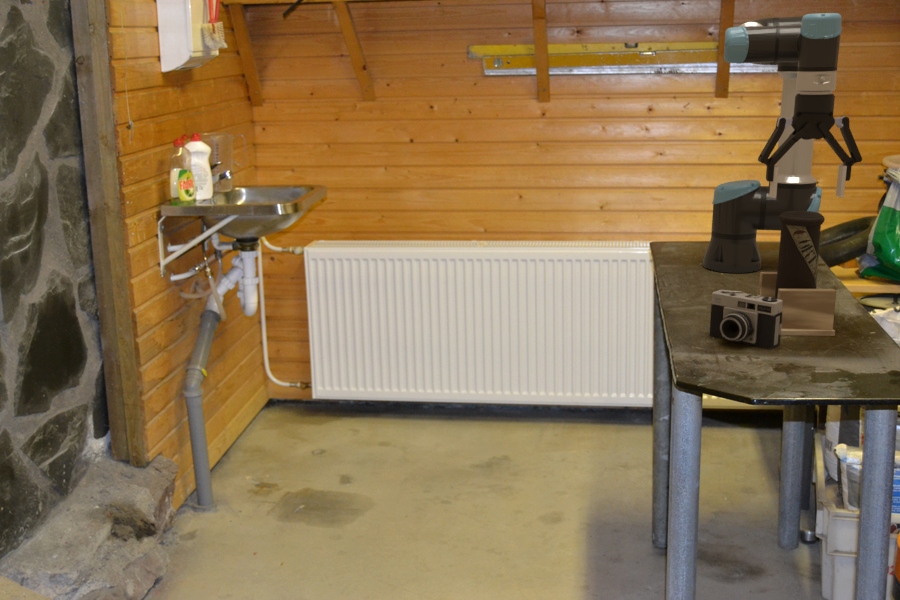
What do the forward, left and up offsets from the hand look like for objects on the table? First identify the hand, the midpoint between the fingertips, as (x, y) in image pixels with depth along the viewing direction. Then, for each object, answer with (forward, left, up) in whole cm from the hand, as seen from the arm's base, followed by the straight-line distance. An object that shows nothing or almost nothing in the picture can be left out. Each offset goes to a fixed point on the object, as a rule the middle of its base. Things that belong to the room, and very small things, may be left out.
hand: (806, 196), depth 186 cm
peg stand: (+2, -1, -27) cm, 27 cm away
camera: (+16, -16, -27) cm, 35 cm away
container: (+1, -1, -23) cm, 23 cm away
